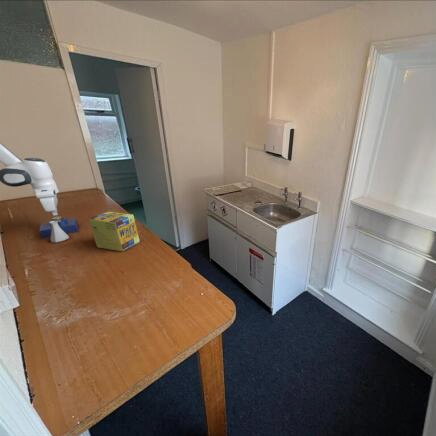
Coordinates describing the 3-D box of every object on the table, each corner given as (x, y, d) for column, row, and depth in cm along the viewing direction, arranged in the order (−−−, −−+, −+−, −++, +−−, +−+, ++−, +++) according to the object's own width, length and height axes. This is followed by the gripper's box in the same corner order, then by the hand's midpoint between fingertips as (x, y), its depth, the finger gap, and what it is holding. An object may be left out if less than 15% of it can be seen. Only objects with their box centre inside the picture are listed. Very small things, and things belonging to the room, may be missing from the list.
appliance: (42, 238, 120) (37, 227, 118) (44, 230, 128) (40, 220, 125) (77, 231, 128) (74, 221, 126) (78, 224, 136) (74, 215, 134)
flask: (65, 234, 124) (58, 217, 120) (72, 238, 121) (66, 220, 117) (47, 240, 118) (40, 222, 114) (54, 244, 115) (47, 225, 111)
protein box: (123, 251, 111) (115, 222, 105) (96, 247, 114) (87, 218, 108) (140, 241, 121) (134, 214, 115) (115, 237, 123) (107, 210, 117)
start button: (52, 222, 125) (51, 219, 124) (53, 220, 127) (52, 217, 127) (62, 220, 127) (61, 218, 126) (63, 218, 130) (61, 215, 129)
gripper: (39, 186, 126) (49, 209, 131) (35, 196, 111) (45, 222, 117) (55, 184, 129) (64, 207, 135) (53, 193, 115) (62, 219, 121)
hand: (55, 214), depth 126 cm, fingers closed
